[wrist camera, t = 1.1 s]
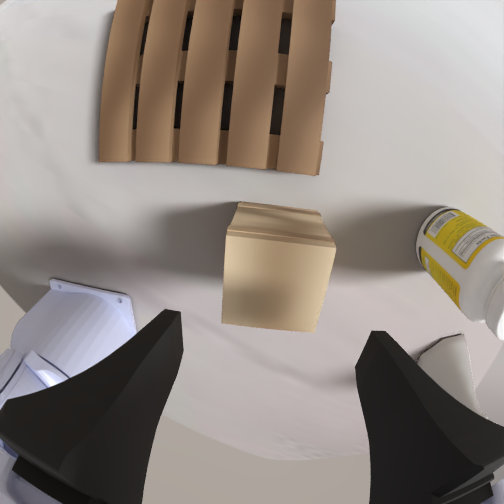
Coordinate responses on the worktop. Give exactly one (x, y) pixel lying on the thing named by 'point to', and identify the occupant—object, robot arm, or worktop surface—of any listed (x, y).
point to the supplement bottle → (465, 264)
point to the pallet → (217, 83)
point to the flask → (452, 370)
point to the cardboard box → (276, 267)
